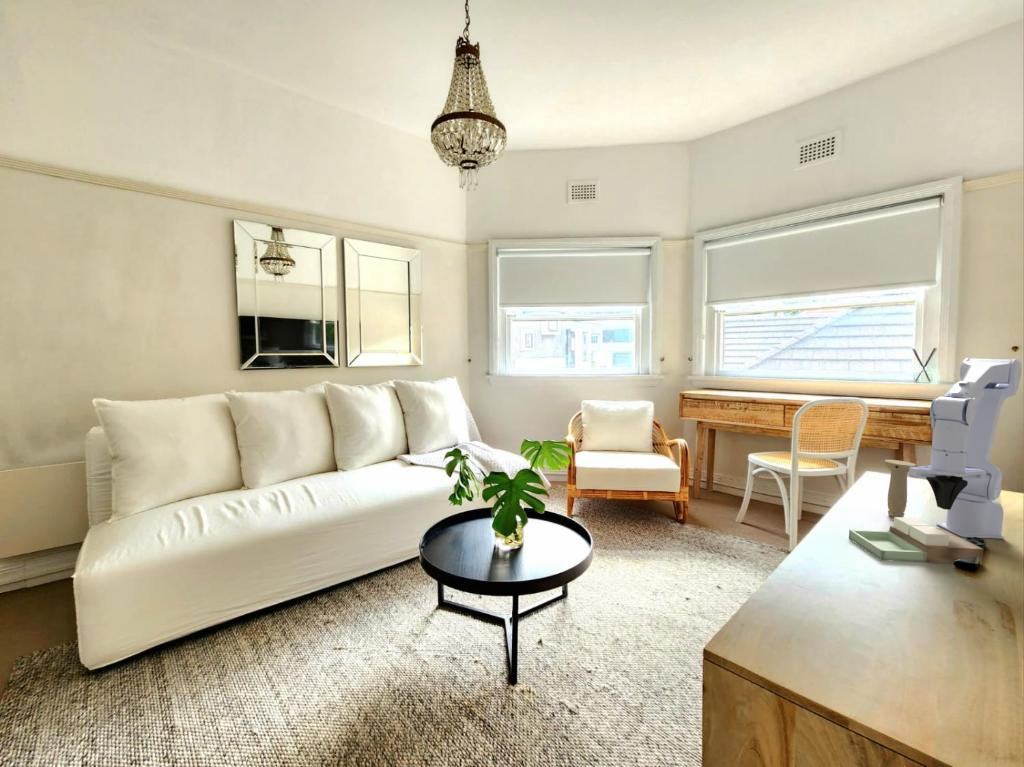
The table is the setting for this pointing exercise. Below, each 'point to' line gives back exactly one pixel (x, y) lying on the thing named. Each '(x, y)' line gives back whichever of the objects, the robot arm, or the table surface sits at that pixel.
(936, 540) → the tile
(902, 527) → the tile
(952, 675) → the table surface
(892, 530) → the board
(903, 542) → the tray
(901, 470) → the handle
